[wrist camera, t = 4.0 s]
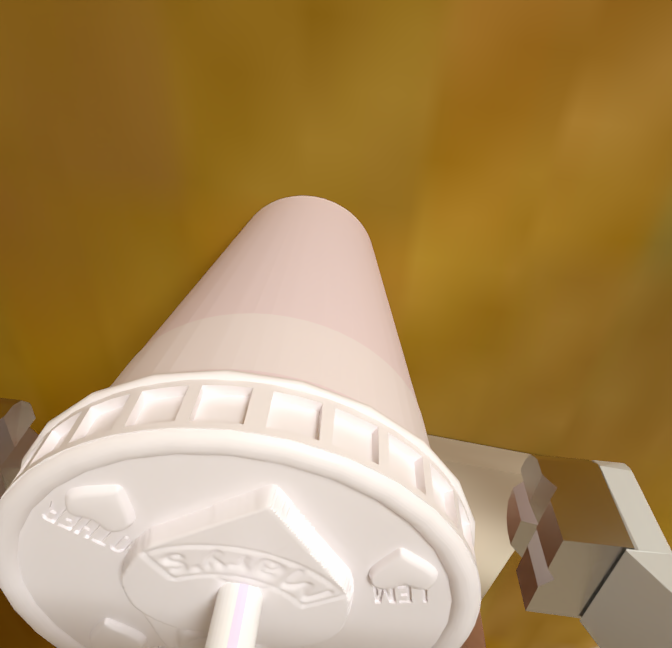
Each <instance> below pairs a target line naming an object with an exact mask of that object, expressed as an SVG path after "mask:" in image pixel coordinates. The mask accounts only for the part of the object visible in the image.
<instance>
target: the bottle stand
mask: <svg viewBox="0 0 672 648" xmlns="http://www.w3.org/2000/svg"><path fill="white" fill-rule="evenodd" d="M427 437H428V441H429V445H430V448H431V449H432V451H433V452H434V453H435V454H436V455H437V456H438V457H439V459H440V460H441V461H442V462H443V463H444V464H445V465H446V466H447V468H448V469H449V470H450V471H451V472H452V473H453V474H454V475H455V477H456V478H457V479H458V480H459V482H460V484H461V487H462V490H463V492H464V495H465V497H466V500H467V502H468V505H469V507H470V510H471V512H472V515H473V517H474V520H475V544H474V551H475V556H476V562H477V568H478V573H479V578H480V583H481V600H482V598H483V597H484V595H485V594H486V592H487V591H488V589H489V588H490V586H491V585H492V583H493V582H494V580H495V579H496V577H497V576H498V574H499V573H500V571H501V570H502V568H503V567H504V565H505V564H506V562H507V561H508V559H509V558H510V556H511V555H512V553H513V552H514V550H515V549H514V548H513V547H512V546H511V545H510V540H509V535H508V531H507V518H506V517H507V507H508V500H509V498H510V495H511V492H512V489H513V488H514V487H515V486H517V485H518V484H520V483H522V482H523V477H522V474H521V467H522V465H523V463H524V461H525V459H526V458H527V457H528V456H529V455H530V454H526V453H521V452H516V451H511V450H505V449H500V448H495V447H489V446H484V445H479V444H474V443H468V442H463V441H458V440H452V439H447V438H442V437H436V436H431V435H427ZM460 648H486V645H485V639H484V633H483V627H482V621H481V615H480V610H479V614H478V617H477V620H476V623H475V626H474V627H473V629H472V631H471V633H470V635H469V637H468V638H467V639H466V641H465V642H464V643H463V645H462V646H461V647H460Z"/></svg>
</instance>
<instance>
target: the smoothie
mask: <svg viewBox="0 0 672 648" xmlns="http://www.w3.org/2000/svg"><path fill="white" fill-rule="evenodd" d="M474 544H475V520H474V517H473V515H472V512H471V510H470V507H469V505H468V502H467V500H466V497H465V495H464V492H463V490H462V487H461V484H460V482H459V480H458V479H457V478H456V477H455V475H454V474H453V473H452V472H451V471H450V470H449V469H448V468H447V466H446V465H445V464H444V463H443V462H442V461H441V460H440V459H439V457H438V456H437V455H436V454H435V453H434V452H433V451H432V449H431V448H430V445H429V441H428V437H427V434H426V430H425V426H424V422H423V418H422V415H421V412H420V409H419V407H418V404H417V400H416V397H415V393H414V390H413V386H412V383H411V379H410V376H409V372H408V369H407V365H406V362H405V359H404V355H403V352H402V348H401V345H400V341H399V338H398V334H397V331H396V327H395V324H394V320H393V317H392V313H391V310H390V306H389V303H388V299H387V296H386V292H385V289H384V286H383V282H382V279H381V275H380V272H379V268H378V265H377V261H376V258H375V254H374V251H373V247H372V244H371V241H370V238H369V236H368V234H367V232H366V230H365V229H364V227H363V226H362V224H361V223H360V222H359V221H358V219H357V218H356V217H355V216H354V215H352V214H351V213H350V212H349V211H348V210H346V209H345V208H343V207H342V206H340V205H338V204H336V203H334V202H332V201H329V200H326V199H323V198H319V197H313V196H293V197H287V198H283V199H280V200H277V201H275V202H272V203H270V204H269V205H267V206H265V207H264V208H262V209H261V210H260V211H258V212H257V213H256V214H255V215H254V216H253V218H252V219H251V220H250V221H249V222H248V223H247V225H246V226H245V227H244V228H243V229H242V231H241V232H240V233H239V234H238V235H237V237H236V238H235V239H234V240H233V241H232V242H231V244H230V245H229V246H228V247H227V248H226V250H225V251H224V252H223V253H222V254H221V256H220V257H219V258H218V259H217V260H216V262H215V263H214V264H213V265H212V266H211V268H210V269H209V270H208V271H207V272H206V273H205V275H204V276H203V277H202V278H201V279H200V281H199V282H198V283H197V284H196V285H195V287H194V288H193V289H192V290H191V291H190V293H189V294H188V295H187V296H186V297H185V298H184V300H183V301H182V302H181V303H180V304H179V306H178V307H177V308H176V309H175V310H174V312H173V313H172V314H171V315H170V316H169V318H168V319H167V320H166V321H165V322H164V323H163V325H162V326H161V327H160V328H159V329H158V331H157V332H156V333H155V334H154V335H153V337H152V338H151V339H150V340H149V341H148V343H147V344H146V345H145V346H144V347H143V349H142V350H141V351H140V352H139V353H137V354H136V356H135V357H134V358H133V359H132V360H131V361H130V363H129V364H128V365H127V366H126V368H125V369H124V370H123V371H122V373H121V374H120V375H119V376H118V378H117V379H116V380H115V381H114V382H113V384H112V385H111V386H110V387H109V388H106V389H102V390H99V391H96V392H93V393H91V394H90V395H88V396H87V397H85V398H84V399H82V400H81V401H79V402H78V403H76V404H75V405H73V406H72V407H70V408H69V409H67V410H66V411H64V412H63V413H61V414H60V415H58V416H57V417H55V418H53V419H52V420H50V421H49V422H48V423H47V424H46V426H45V427H44V429H43V430H42V431H41V433H40V434H39V436H38V437H37V439H36V440H35V442H34V443H33V444H32V446H31V447H30V449H29V450H28V452H27V453H26V454H25V456H24V457H23V459H22V463H21V469H20V471H19V473H18V474H17V476H16V477H15V479H14V480H13V482H12V483H11V485H10V486H9V487H8V488H7V490H6V491H5V492H4V494H3V495H2V497H1V499H0V588H1V590H2V591H3V593H4V594H5V596H6V598H7V599H8V601H9V602H10V604H11V606H12V607H13V609H14V610H15V611H16V612H17V613H18V614H19V615H20V616H21V617H22V618H23V619H24V620H25V621H26V622H27V623H28V624H29V625H30V626H31V627H32V628H33V630H34V631H35V632H36V633H38V634H39V635H40V636H42V637H43V638H44V639H46V640H47V641H48V642H50V643H51V644H53V645H54V646H55V647H57V648H460V647H461V646H462V645H463V643H464V642H465V641H466V639H467V638H468V637H469V635H470V633H471V631H472V629H473V627H474V626H475V623H476V620H477V617H478V614H479V610H480V603H481V583H480V578H479V573H478V568H477V562H476V556H475V551H474Z"/></svg>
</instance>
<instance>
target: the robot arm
mask: <svg viewBox="0 0 672 648" xmlns="http://www.w3.org/2000/svg"><path fill="white" fill-rule="evenodd" d="M34 420H35V415H34V413H33V410H32V407H31V404H30V403H28V402H25V401H22V400H14V399H6V398H0V499H1V497H2V495H3V494H4V492H5V491H6V490H7V488H8V487H9V486H10V485H11V483H12V482H13V480H14V479H15V477H16V476H17V474H18V473H19V471H20V469H21V463H22V459H23V457H24V456H25V454H26V453H27V452H28V450H29V449H30V447H31V446H32V444H33V443H34V442H35V440H36V439H37V437H38V436H39V435H38V434H37V433H36V432H34V431H33V430H32V429H31V428H30V425H31V424H32V422H33V421H34ZM521 474H522V477H523V482H522V483H520V484H518V485H517V486H515V487H514V488H513V489H512V492H511V495H510V498H509V500H508V507H507V517H506V518H507V531H508V535H509V540H510V545H511V546H512V547H513V548H514V549H515V550H516V552H517V553H518V554H519V555H520V556H521V557H522V559H521V561H520V563H519V566H518V568H517V570H516V571H517V576H518V580H519V584H520V589H521V593H522V597H523V601H524V606H525V610H526V611H531V612H539V613H546V614H554V615H561V616H569V617H576V618H581V619H580V622H581V623H582V625H583V626H584V627H585V629H586V630H587V631H588V632H589V634H590V635H591V636H592V638H593V639H594V640H595V642H596V643H597V644H598V645H599V647H600V648H672V551H671V549H670V547H669V545H668V543H667V541H666V539H665V537H664V535H663V533H662V531H661V529H660V527H659V525H658V523H657V521H656V519H655V517H654V515H653V513H652V511H651V509H650V507H649V505H648V503H647V501H646V499H645V497H644V495H643V493H642V491H641V489H640V487H639V485H638V483H637V481H636V479H635V477H634V475H633V473H632V471H631V469H630V468H629V467H628V466H627V465H626V464H624V463H616V462H605V461H595V460H592V461H590V460H585V459H575V458H565V457H554V456H544V455H533V454H530V455H529V456H528V457H527V458H526V459H525V461H524V463H523V465H522V467H521Z"/></svg>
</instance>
